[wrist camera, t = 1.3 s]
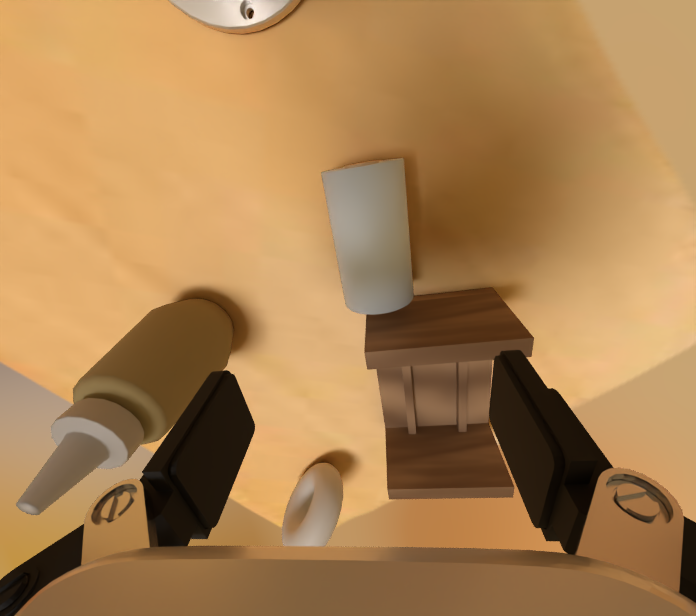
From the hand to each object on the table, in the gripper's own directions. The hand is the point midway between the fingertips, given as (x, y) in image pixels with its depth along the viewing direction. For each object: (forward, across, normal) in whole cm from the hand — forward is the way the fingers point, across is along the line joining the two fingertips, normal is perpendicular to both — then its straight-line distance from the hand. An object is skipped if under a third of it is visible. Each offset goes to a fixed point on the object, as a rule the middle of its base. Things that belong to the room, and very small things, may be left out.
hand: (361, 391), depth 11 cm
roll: (+14, 0, -1) cm, 15 cm away
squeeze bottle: (+17, +17, +6) cm, 25 cm away
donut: (+17, +10, +29) cm, 35 cm away
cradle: (+17, -5, +14) cm, 22 cm away
